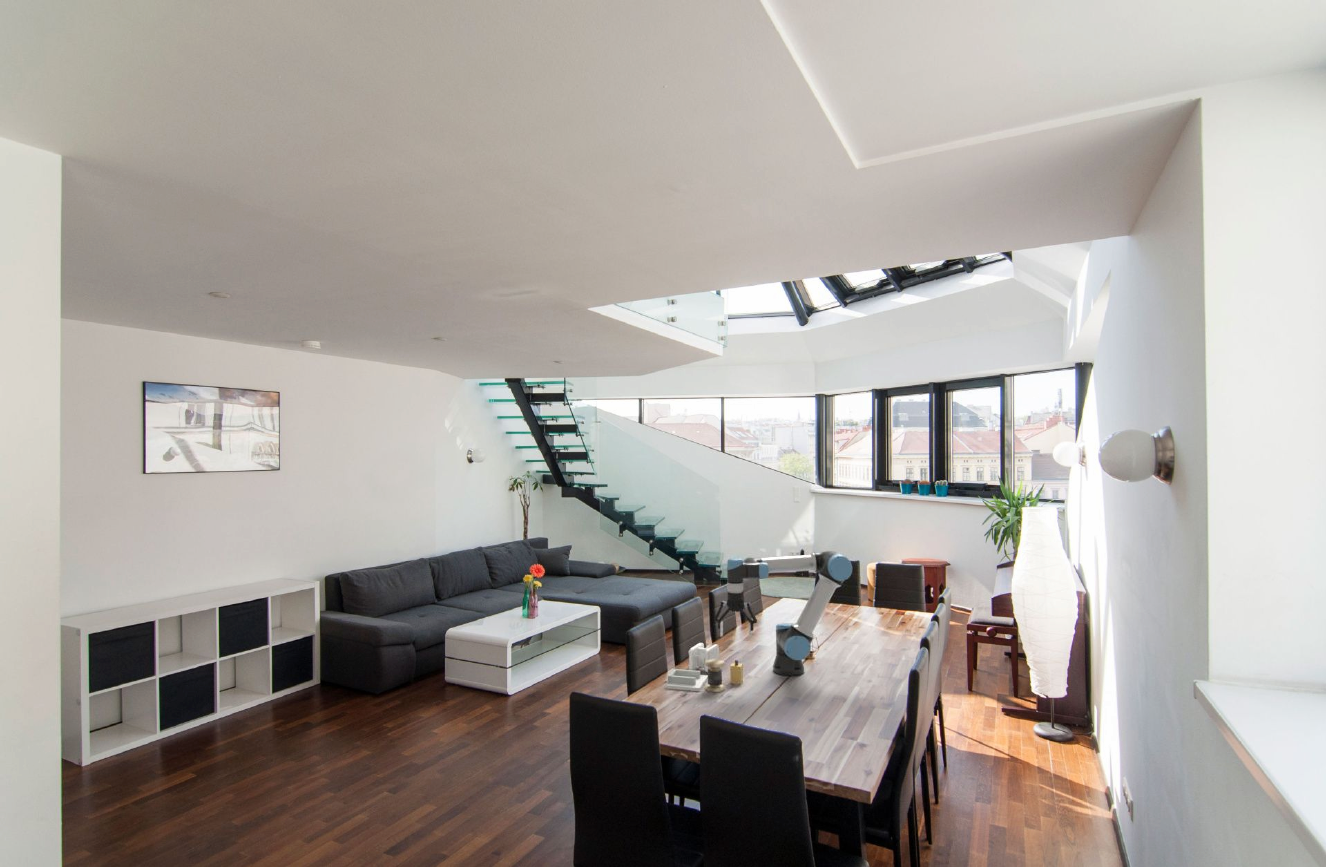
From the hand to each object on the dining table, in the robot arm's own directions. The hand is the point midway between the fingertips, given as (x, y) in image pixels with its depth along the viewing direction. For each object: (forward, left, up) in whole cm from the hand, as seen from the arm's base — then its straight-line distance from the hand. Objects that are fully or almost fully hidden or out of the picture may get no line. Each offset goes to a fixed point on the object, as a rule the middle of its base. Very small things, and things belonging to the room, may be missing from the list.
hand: (735, 636), depth 316 cm
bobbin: (+8, +12, -21) cm, 25 cm away
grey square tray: (+22, +8, -21) cm, 31 cm away
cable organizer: (+19, -14, -21) cm, 32 cm away
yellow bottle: (0, 0, -21) cm, 21 cm away
